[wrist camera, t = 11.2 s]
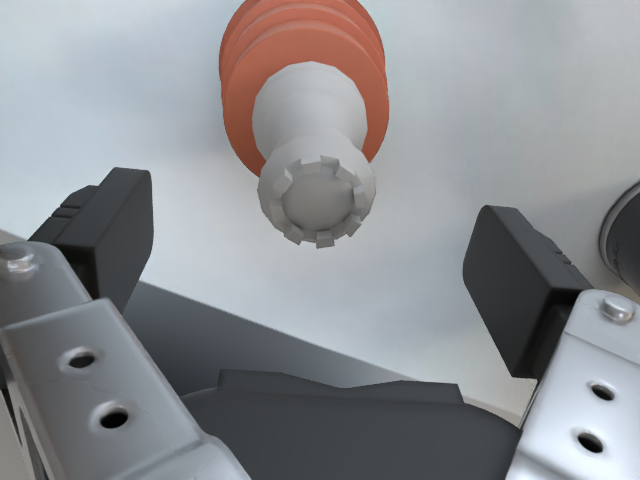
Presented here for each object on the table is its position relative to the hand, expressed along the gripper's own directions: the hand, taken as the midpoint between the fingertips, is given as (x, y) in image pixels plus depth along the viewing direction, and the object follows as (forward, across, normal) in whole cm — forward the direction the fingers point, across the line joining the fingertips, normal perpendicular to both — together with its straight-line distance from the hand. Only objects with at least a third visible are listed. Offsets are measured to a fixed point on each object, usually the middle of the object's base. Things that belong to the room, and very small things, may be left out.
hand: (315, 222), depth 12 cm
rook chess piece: (+9, 0, 0) cm, 9 cm away
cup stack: (+21, 0, 0) cm, 21 cm away
